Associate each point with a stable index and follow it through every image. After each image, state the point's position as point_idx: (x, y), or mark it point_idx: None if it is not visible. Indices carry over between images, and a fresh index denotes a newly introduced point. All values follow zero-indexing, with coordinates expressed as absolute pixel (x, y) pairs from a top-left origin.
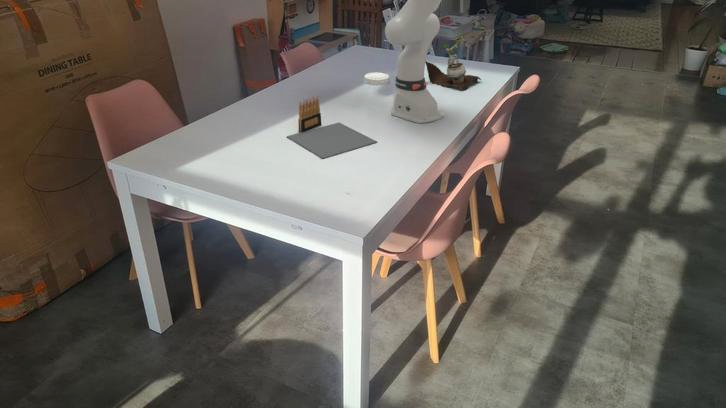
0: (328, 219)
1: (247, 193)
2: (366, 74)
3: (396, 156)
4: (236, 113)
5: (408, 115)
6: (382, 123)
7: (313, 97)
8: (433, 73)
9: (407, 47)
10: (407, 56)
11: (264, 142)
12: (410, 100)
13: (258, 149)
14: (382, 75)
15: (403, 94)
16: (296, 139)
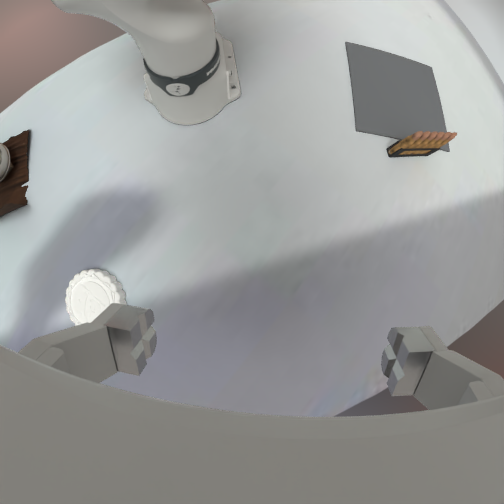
0: (452, 15)
1: (499, 85)
2: None
3: (347, 10)
4: (462, 306)
5: (225, 64)
6: (286, 78)
7: (430, 132)
8: (5, 212)
9: (161, 13)
10: (198, 2)
11: (474, 162)
12: (222, 44)
13: (483, 150)
14: (80, 291)
15: (221, 55)
16: (442, 131)
